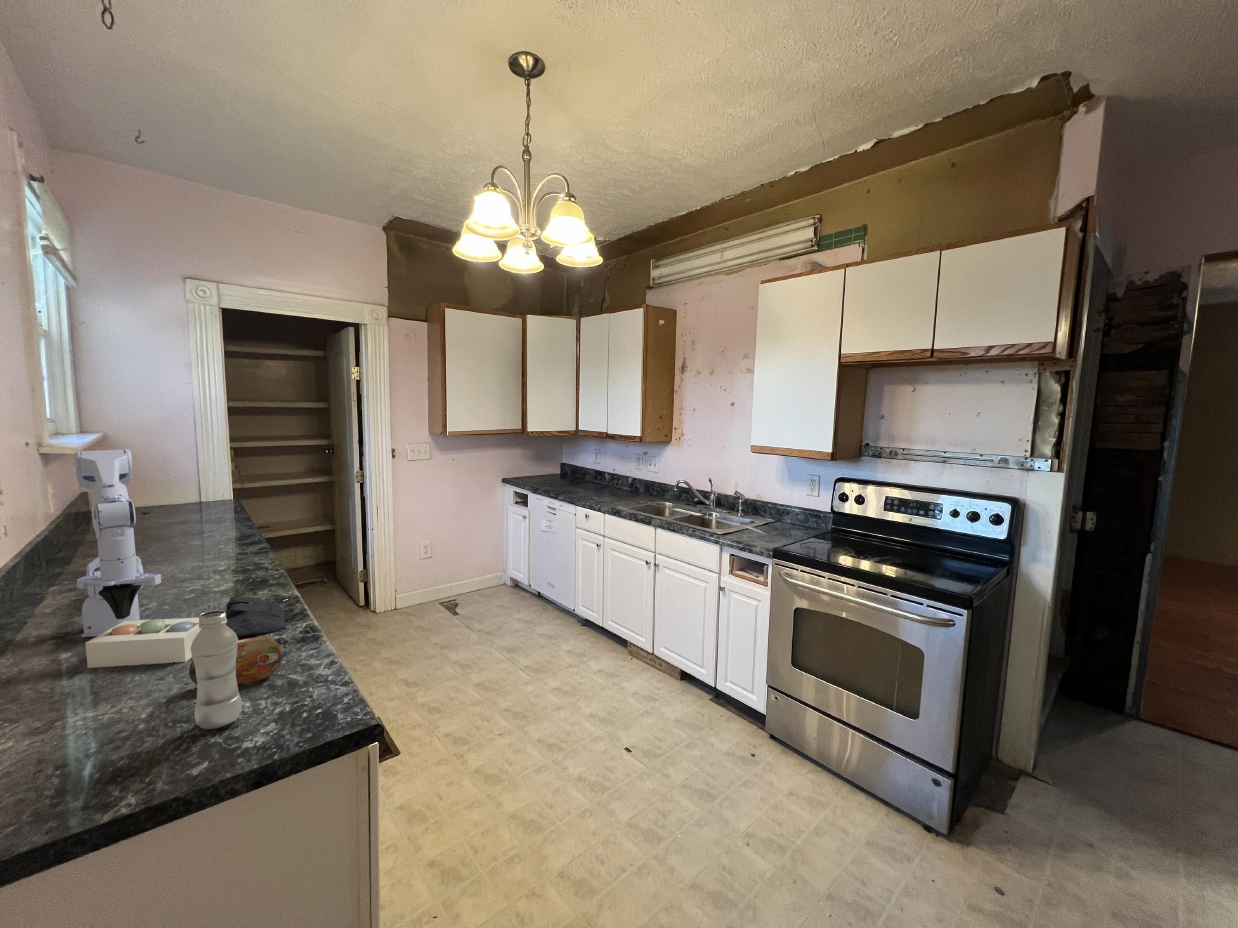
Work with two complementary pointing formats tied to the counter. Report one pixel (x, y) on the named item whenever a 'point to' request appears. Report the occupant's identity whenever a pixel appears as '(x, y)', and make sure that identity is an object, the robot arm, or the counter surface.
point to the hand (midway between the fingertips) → (123, 617)
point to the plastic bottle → (215, 672)
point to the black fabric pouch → (253, 616)
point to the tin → (252, 660)
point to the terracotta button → (124, 629)
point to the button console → (142, 646)
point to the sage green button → (152, 626)
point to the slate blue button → (181, 626)
